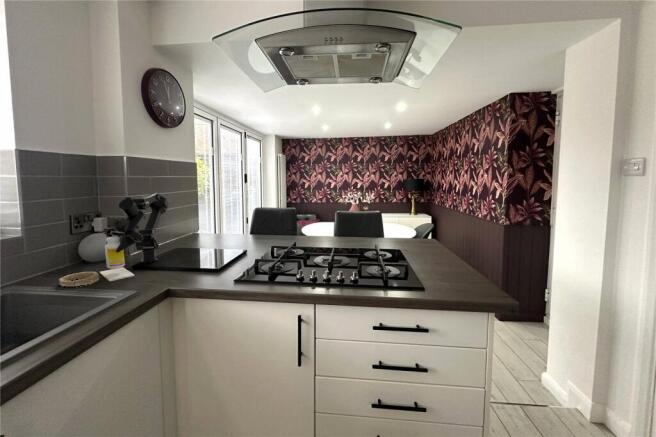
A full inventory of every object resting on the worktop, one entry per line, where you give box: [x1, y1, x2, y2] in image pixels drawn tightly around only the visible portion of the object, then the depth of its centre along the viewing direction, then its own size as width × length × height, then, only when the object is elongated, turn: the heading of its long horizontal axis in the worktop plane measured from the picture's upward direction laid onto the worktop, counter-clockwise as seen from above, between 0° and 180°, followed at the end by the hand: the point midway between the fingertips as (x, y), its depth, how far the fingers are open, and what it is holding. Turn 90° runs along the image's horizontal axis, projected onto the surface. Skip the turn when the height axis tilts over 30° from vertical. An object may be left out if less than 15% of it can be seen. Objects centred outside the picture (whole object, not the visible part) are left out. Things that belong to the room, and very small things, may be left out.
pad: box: [99, 266, 135, 282], centre depth 140 cm, size 16×9×1 cm, turn 47°
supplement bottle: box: [104, 237, 126, 270], centre depth 139 cm, size 7×7×13 cm
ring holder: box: [58, 271, 100, 287], centre depth 131 cm, size 12×12×2 cm
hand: (111, 251), depth 138 cm, fingers closed on supplement bottle, 7 cm apart
